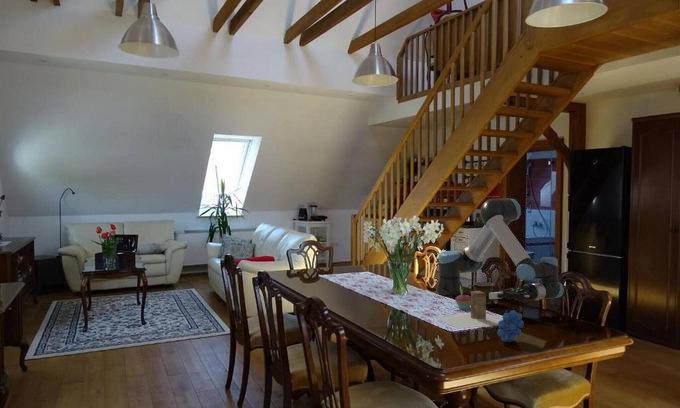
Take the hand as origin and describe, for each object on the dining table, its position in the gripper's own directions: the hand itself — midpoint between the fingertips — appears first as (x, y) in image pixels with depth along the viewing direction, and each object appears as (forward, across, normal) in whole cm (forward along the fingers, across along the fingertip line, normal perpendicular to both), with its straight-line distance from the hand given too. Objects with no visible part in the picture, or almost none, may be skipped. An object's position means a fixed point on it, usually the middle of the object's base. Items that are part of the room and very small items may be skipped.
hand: (490, 296), depth 217 cm
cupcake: (+1, +19, -11) cm, 22 cm away
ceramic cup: (-14, +27, -11) cm, 32 cm away
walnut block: (+6, 0, -10) cm, 12 cm away
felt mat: (+10, 0, -10) cm, 15 cm away
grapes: (+12, -29, -11) cm, 33 cm away
